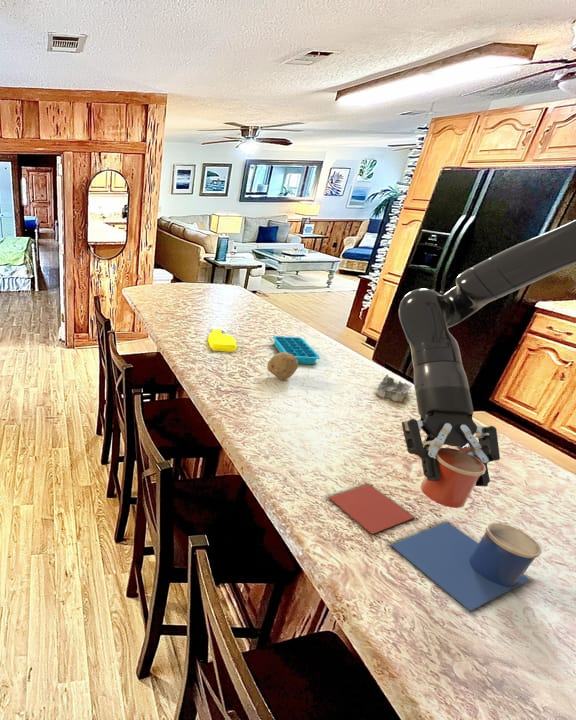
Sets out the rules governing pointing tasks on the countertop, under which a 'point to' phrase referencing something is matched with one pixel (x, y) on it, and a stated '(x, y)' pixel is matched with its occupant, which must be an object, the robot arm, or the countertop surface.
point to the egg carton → (392, 389)
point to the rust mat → (371, 508)
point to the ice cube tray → (296, 349)
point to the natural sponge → (282, 365)
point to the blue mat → (451, 564)
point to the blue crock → (504, 554)
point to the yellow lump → (221, 340)
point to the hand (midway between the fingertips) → (457, 483)
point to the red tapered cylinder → (453, 478)
